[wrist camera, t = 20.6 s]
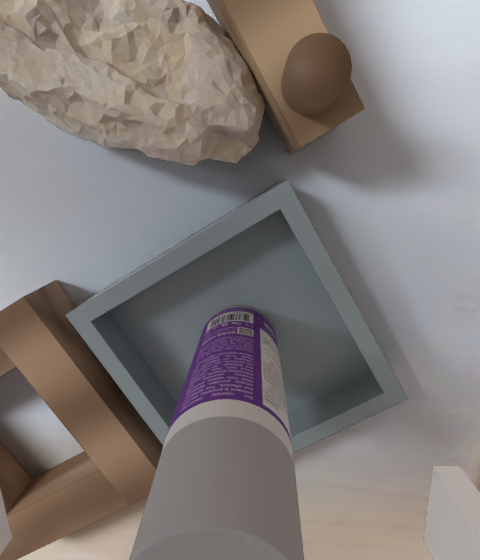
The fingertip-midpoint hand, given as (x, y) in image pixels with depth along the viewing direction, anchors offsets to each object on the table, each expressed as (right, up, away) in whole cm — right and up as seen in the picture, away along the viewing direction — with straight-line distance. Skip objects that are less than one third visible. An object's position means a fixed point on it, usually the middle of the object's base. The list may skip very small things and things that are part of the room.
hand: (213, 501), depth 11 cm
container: (+1, +3, +12) cm, 13 cm away
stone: (-4, +18, +9) cm, 20 cm away
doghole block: (-13, -2, +15) cm, 20 cm away
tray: (+1, +3, +13) cm, 13 cm away
